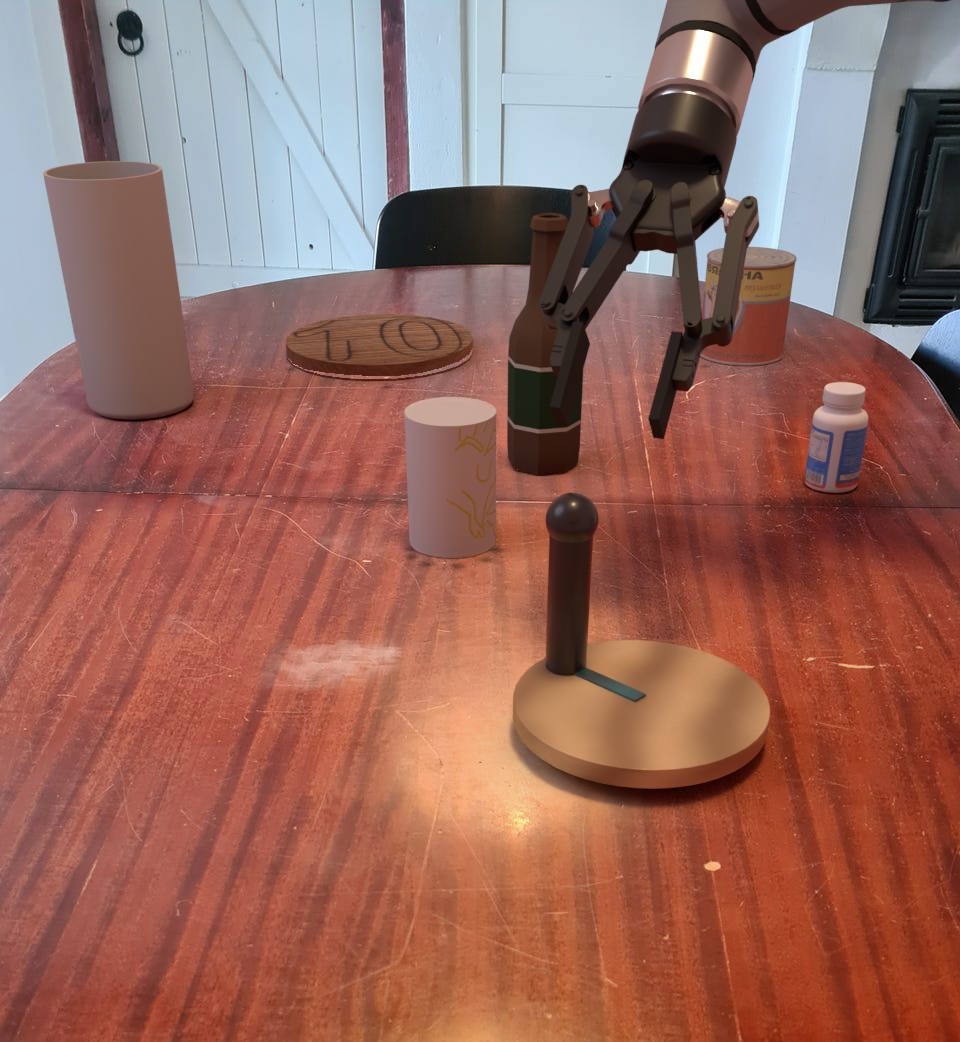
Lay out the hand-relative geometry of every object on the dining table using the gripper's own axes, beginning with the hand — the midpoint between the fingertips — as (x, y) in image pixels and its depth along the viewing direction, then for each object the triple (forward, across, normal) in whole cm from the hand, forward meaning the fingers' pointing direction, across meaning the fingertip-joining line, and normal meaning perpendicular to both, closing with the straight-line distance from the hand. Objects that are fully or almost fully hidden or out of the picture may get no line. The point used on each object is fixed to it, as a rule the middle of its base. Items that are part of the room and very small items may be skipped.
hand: (606, 422), depth 87 cm
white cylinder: (+1, +19, -25) cm, 32 cm away
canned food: (-49, +7, -76) cm, 91 cm away
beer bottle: (-15, +18, -41) cm, 47 cm away
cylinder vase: (-16, +70, -42) cm, 83 cm away
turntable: (+19, -6, -5) cm, 21 cm away
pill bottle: (-18, -12, -44) cm, 49 cm away
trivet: (-37, +53, -64) cm, 90 cm away
